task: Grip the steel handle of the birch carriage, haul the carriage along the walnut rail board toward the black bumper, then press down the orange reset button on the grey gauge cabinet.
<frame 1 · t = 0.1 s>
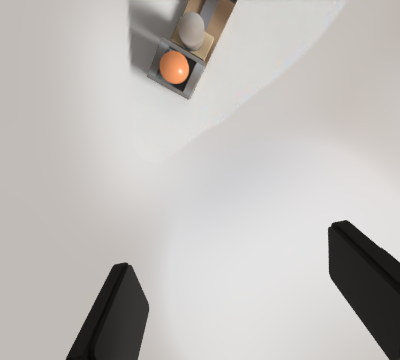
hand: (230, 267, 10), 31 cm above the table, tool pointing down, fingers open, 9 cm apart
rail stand: (194, 43, 34), on the table
carriage: (192, 36, 28), point 6 cm above the table, slide at 0.0 cm
reset button: (175, 68, 27), point 9 cm above the table, slide at 0.0 cm
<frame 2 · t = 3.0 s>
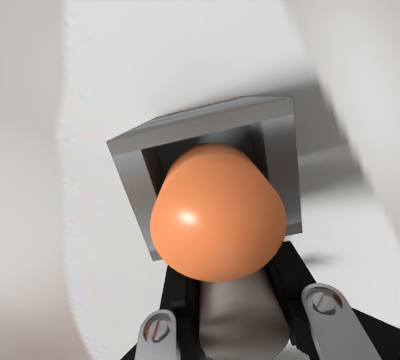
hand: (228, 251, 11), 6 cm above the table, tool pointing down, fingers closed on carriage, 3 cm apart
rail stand: (219, 205, 17), on the table
carriage: (228, 255, 11), point 6 cm above the table, slide at 0.0 cm, touching gripper
reset button: (214, 205, 7), point 9 cm above the table, slide at 0.0 cm
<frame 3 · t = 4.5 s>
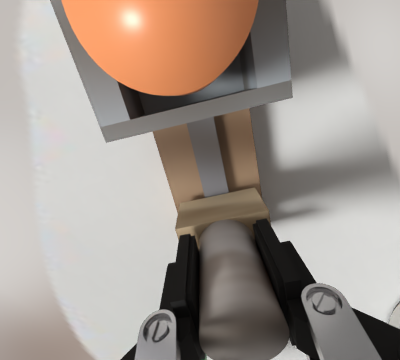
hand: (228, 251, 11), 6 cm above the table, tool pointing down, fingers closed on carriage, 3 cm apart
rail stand: (205, 144, 15), on the table
carriage: (228, 255, 11), point 6 cm above the table, slide at 5.0 cm, touching gripper
reset button: (169, 14, 5), point 9 cm above the table, slide at 0.0 cm
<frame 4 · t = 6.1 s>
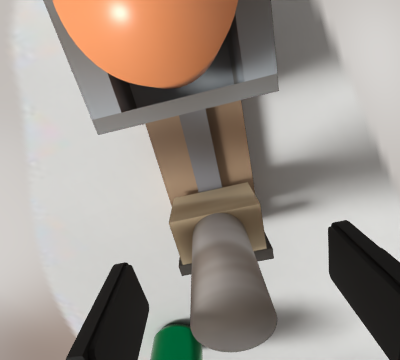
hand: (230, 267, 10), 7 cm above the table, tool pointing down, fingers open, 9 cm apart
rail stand: (199, 139, 15), on the table
soda can: (178, 334, 23), on the table
carriage: (221, 247, 11), point 6 cm above the table, slide at 5.0 cm
reset button: (156, 8, 5), point 9 cm above the table, slide at 0.0 cm
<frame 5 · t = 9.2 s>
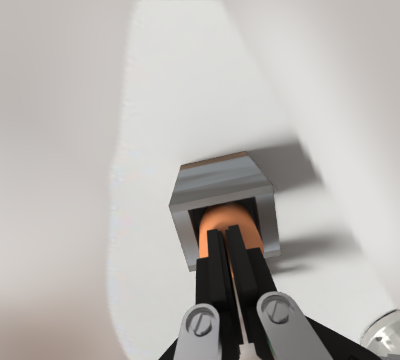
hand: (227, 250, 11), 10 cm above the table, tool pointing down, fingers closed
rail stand: (227, 226, 22), on the table
carriage: (245, 313, 18), point 6 cm above the table, slide at 5.0 cm
reset button: (228, 237, 13), point 9 cm above the table, slide at 0.6 cm, touching gripper
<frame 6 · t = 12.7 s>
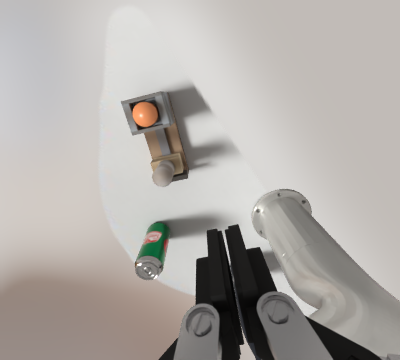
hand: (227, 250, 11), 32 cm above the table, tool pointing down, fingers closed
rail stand: (163, 137, 41), on the table
soda can: (159, 230, 49), on the table
carriage: (165, 169, 37), point 6 cm above the table, slide at 5.0 cm
reset button: (146, 114, 32), point 8 cm above the table, slide at 1.4 cm
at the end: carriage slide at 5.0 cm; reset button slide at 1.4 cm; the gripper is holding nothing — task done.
